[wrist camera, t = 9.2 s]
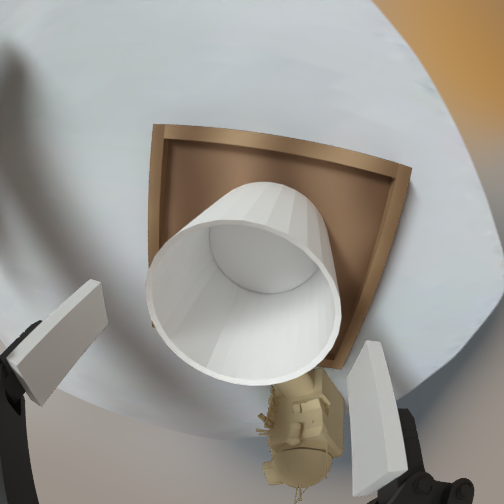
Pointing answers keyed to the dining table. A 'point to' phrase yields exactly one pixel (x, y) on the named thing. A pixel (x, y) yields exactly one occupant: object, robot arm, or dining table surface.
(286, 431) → the robot
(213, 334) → the mug
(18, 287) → the dining table surface
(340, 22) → the dining table surface
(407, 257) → the dining table surface
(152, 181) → the tray
